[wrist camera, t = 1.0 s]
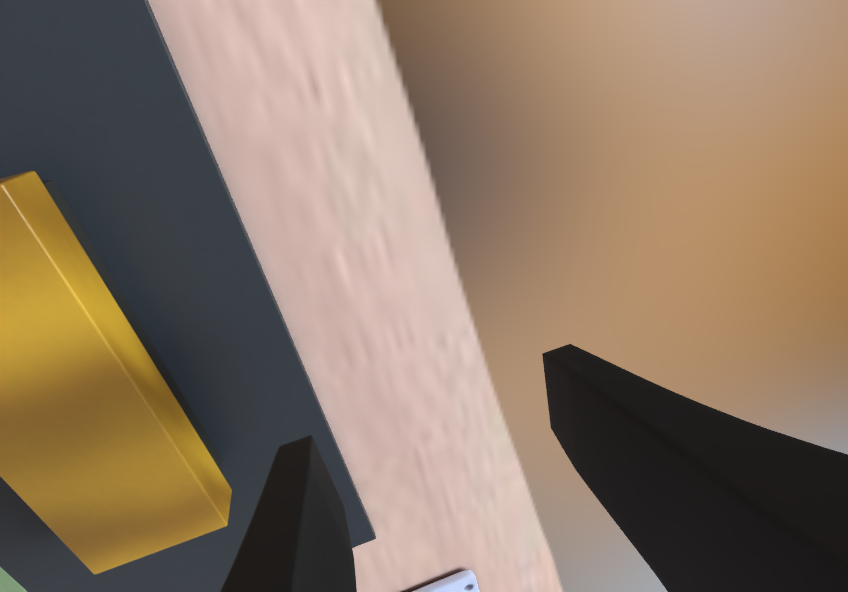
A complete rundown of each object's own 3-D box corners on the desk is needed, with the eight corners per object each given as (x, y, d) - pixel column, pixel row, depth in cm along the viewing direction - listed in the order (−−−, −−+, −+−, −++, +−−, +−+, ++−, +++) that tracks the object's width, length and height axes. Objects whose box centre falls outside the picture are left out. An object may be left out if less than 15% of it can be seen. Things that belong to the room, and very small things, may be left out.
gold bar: (236, 465, 18) (228, 526, 16) (120, 506, 18) (93, 576, 15) (56, 160, 13) (1, 183, 10) (-123, 207, 12) (-226, 241, 10)
